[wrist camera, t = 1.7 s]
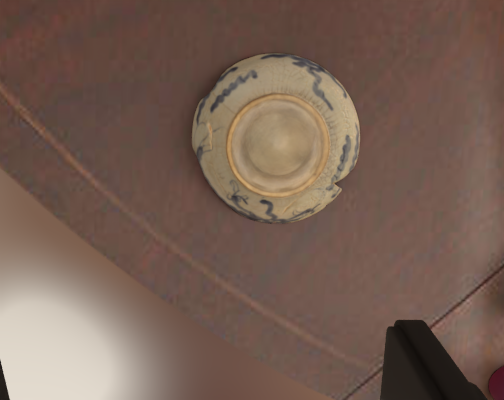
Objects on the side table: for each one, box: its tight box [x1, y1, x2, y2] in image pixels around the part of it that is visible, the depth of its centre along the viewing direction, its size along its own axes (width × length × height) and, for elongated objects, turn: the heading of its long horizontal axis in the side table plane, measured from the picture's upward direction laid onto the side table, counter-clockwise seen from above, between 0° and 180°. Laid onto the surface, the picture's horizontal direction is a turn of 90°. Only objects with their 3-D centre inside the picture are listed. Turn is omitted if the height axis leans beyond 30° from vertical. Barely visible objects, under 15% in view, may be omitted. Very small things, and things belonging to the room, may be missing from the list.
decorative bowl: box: [192, 53, 360, 224], centre depth 31 cm, size 15×4×15 cm
